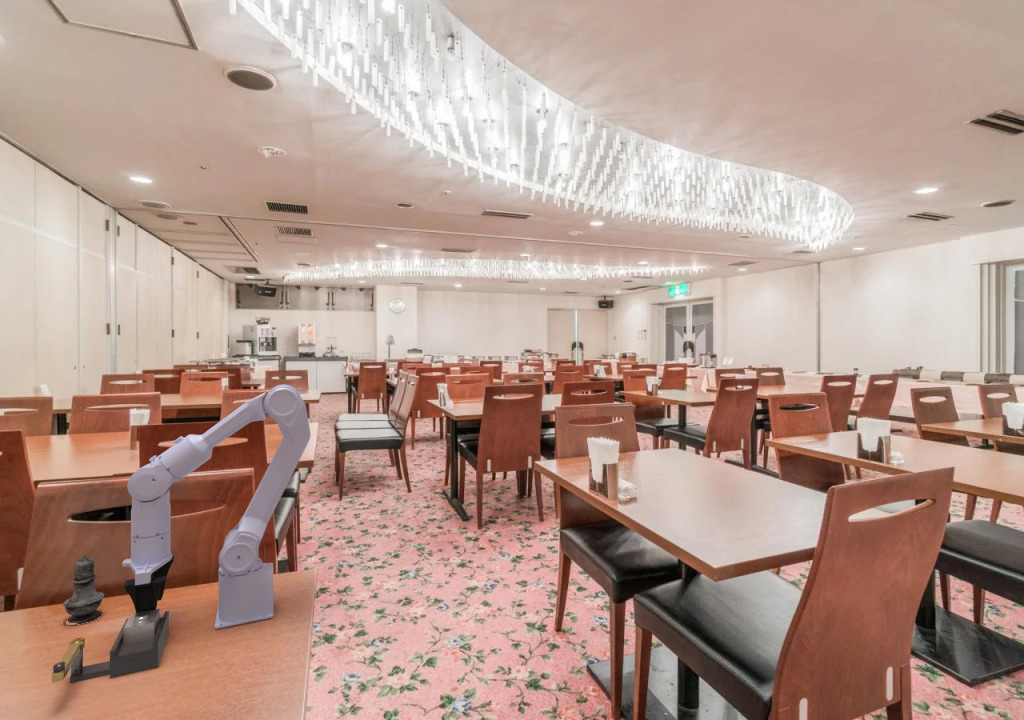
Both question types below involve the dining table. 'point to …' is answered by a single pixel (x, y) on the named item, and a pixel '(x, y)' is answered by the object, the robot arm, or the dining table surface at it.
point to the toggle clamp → (125, 656)
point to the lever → (67, 659)
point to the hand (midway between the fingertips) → (150, 609)
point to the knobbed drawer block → (141, 626)
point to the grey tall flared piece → (84, 593)
